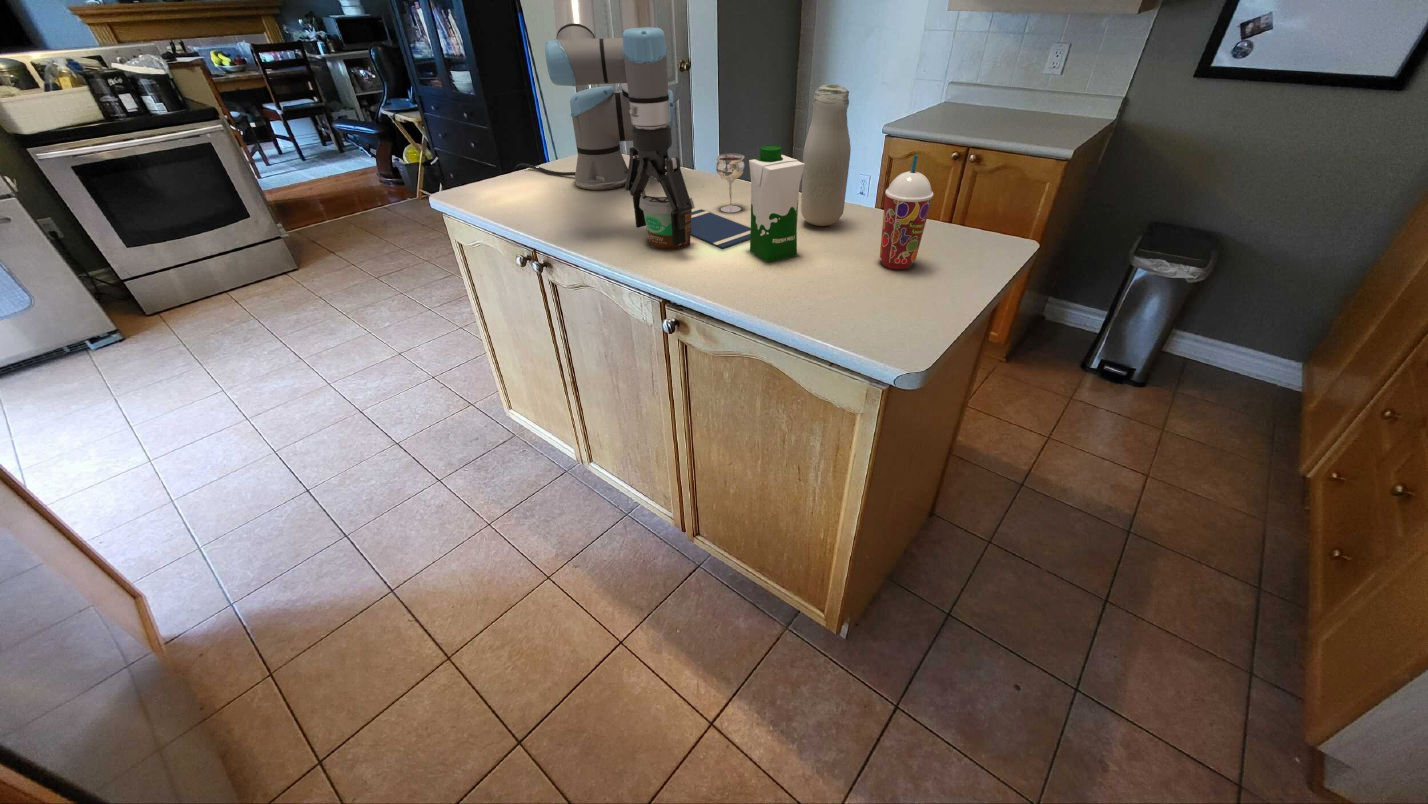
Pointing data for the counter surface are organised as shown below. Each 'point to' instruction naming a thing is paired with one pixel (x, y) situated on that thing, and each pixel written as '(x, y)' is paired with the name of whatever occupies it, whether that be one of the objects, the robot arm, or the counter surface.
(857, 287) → the counter surface
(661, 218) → the food container
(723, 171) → the wineglass
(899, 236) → the smoothie
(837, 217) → the glass bottle
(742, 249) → the counter surface
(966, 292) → the counter surface
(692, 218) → the cloth
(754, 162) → the milk carton
